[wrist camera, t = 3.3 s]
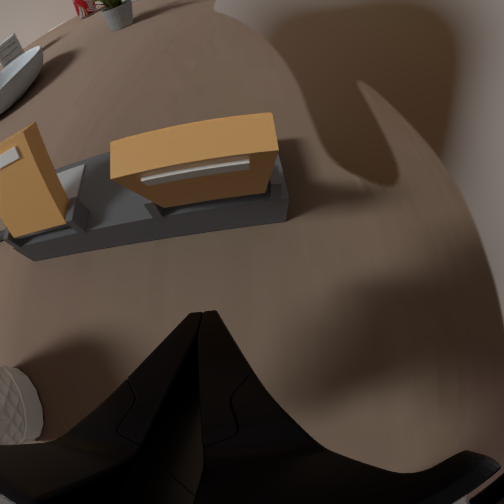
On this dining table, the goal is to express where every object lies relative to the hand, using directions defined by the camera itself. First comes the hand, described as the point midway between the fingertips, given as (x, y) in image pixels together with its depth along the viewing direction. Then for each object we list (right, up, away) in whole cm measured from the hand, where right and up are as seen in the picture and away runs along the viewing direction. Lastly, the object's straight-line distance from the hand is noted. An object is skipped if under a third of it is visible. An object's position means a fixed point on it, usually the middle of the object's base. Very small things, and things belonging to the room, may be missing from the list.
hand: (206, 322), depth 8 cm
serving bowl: (-49, +35, +25) cm, 65 cm away
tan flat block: (-14, +4, +7) cm, 16 cm away
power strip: (-12, +5, +12) cm, 18 cm away
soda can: (-56, +85, +45) cm, 111 cm away
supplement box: (-69, +57, +35) cm, 96 cm away
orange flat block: (-1, +6, +7) cm, 10 cm away
